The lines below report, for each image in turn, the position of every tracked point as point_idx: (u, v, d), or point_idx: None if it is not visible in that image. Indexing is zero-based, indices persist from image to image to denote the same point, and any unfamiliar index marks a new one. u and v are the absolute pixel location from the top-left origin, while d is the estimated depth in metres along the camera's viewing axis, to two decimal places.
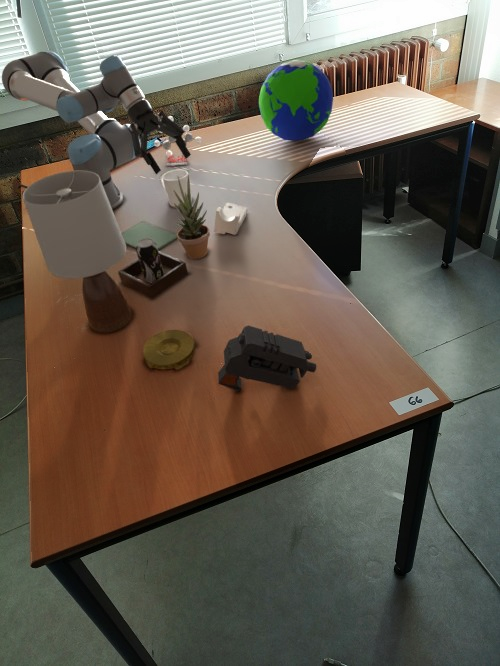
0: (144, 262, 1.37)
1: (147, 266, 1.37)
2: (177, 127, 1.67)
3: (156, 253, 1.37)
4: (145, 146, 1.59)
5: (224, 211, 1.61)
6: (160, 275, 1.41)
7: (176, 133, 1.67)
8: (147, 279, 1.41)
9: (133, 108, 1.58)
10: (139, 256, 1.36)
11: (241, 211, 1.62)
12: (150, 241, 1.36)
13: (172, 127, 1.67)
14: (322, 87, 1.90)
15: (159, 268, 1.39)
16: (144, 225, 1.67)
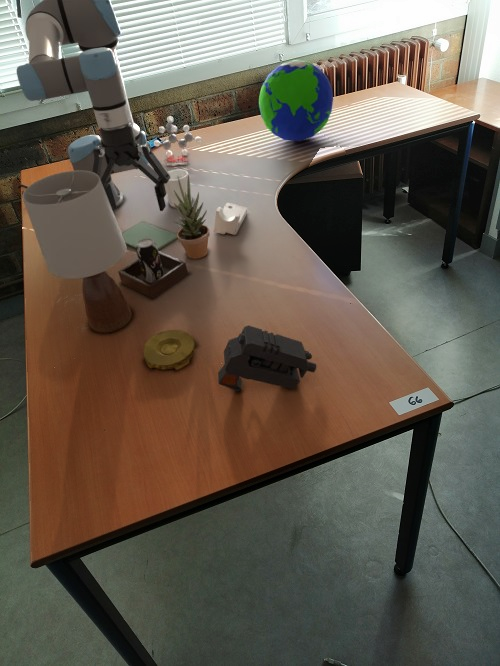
0: (144, 262, 1.37)
1: (147, 266, 1.37)
2: (159, 174, 1.21)
3: (156, 253, 1.37)
4: (103, 180, 1.25)
5: (224, 211, 1.61)
6: (160, 275, 1.41)
7: (154, 180, 1.22)
8: (147, 279, 1.41)
9: None
10: (139, 256, 1.36)
11: (241, 211, 1.62)
12: (150, 241, 1.36)
13: None
14: (322, 87, 1.90)
15: (159, 268, 1.39)
16: (144, 225, 1.67)
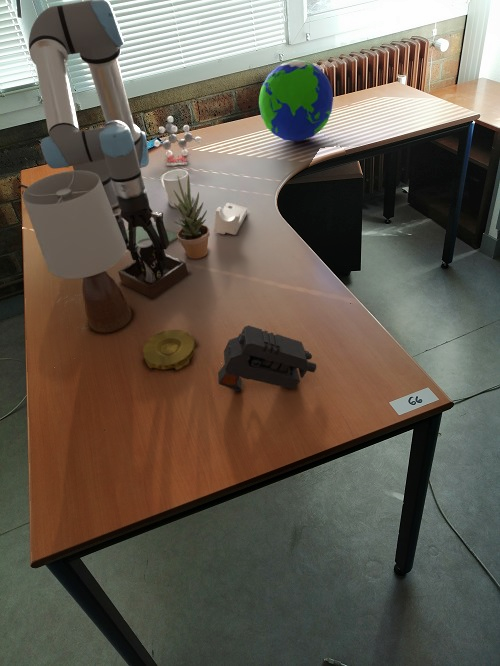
0: (144, 262, 1.37)
1: (147, 266, 1.37)
2: (162, 240, 1.33)
3: None
4: (130, 244, 1.35)
5: (224, 211, 1.61)
6: (160, 275, 1.41)
7: (156, 245, 1.34)
8: (147, 279, 1.41)
9: (117, 201, 1.26)
10: (139, 256, 1.36)
11: (241, 212, 1.62)
12: (150, 241, 1.36)
13: None
14: (322, 87, 1.90)
15: None
16: None
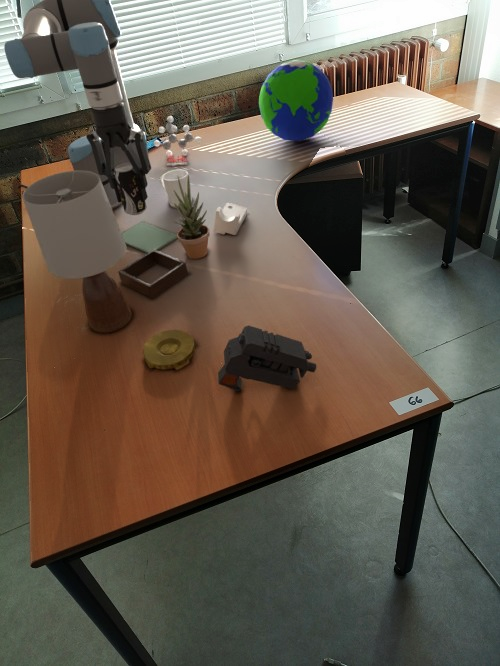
0: (123, 190, 1.23)
1: (126, 195, 1.24)
2: (143, 163, 1.19)
3: None
4: (108, 168, 1.22)
5: (224, 211, 1.61)
6: (142, 206, 1.27)
7: (136, 170, 1.21)
8: (127, 210, 1.27)
9: None
10: (118, 182, 1.22)
11: (241, 212, 1.62)
12: (130, 166, 1.22)
13: None
14: (322, 87, 1.90)
15: None
16: (144, 225, 1.67)
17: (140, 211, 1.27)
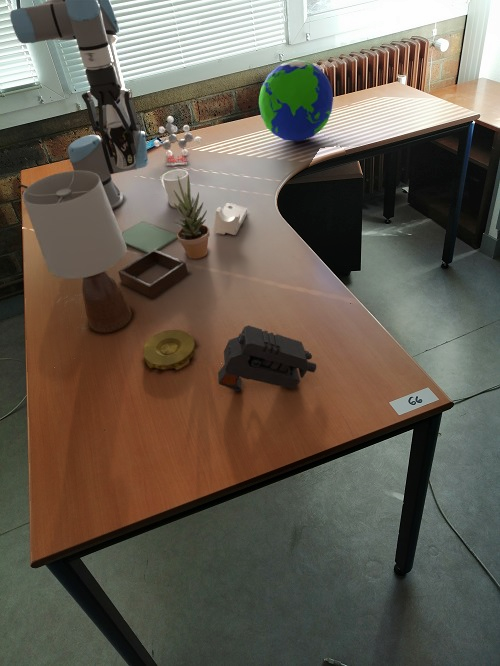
0: (114, 144, 1.39)
1: (117, 149, 1.39)
2: (131, 120, 1.35)
3: None
4: (101, 125, 1.37)
5: (224, 211, 1.61)
6: (131, 160, 1.43)
7: (126, 126, 1.36)
8: (118, 164, 1.43)
9: (86, 74, 1.28)
10: (109, 138, 1.38)
11: (241, 212, 1.62)
12: (120, 123, 1.38)
13: None
14: (322, 87, 1.90)
15: None
16: (144, 225, 1.67)
17: (130, 165, 1.43)
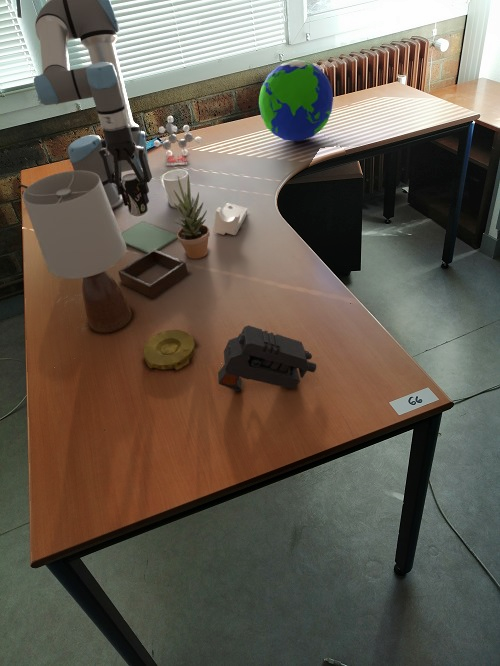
0: (128, 195, 1.49)
1: (131, 199, 1.50)
2: (145, 173, 1.45)
3: None
4: (116, 177, 1.48)
5: (224, 211, 1.61)
6: (144, 209, 1.53)
7: (139, 179, 1.47)
8: (132, 212, 1.53)
9: None
10: (124, 189, 1.48)
11: (241, 212, 1.62)
12: (134, 175, 1.48)
13: None
14: (322, 87, 1.90)
15: None
16: (144, 225, 1.67)
17: (143, 213, 1.53)
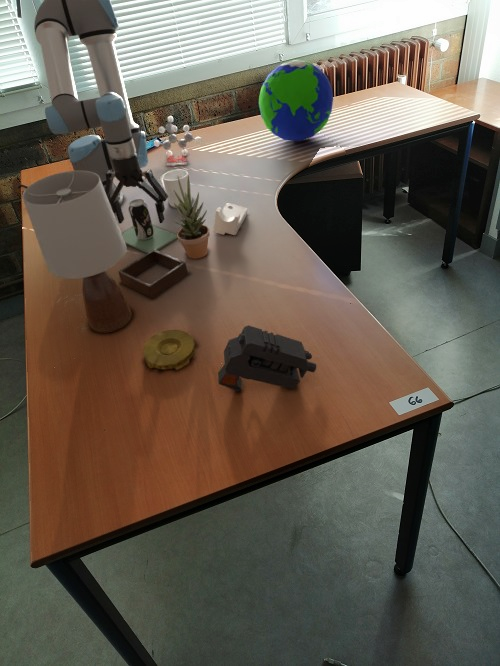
0: (135, 220, 1.54)
1: (138, 224, 1.55)
2: (159, 194, 1.49)
3: (146, 212, 1.54)
4: (113, 198, 1.52)
5: (224, 211, 1.61)
6: (150, 233, 1.58)
7: (155, 199, 1.50)
8: (139, 236, 1.58)
9: (112, 162, 1.44)
10: (131, 214, 1.54)
11: (241, 212, 1.62)
12: (141, 201, 1.54)
13: None
14: (322, 87, 1.90)
15: (149, 226, 1.57)
16: None
17: (149, 236, 1.59)
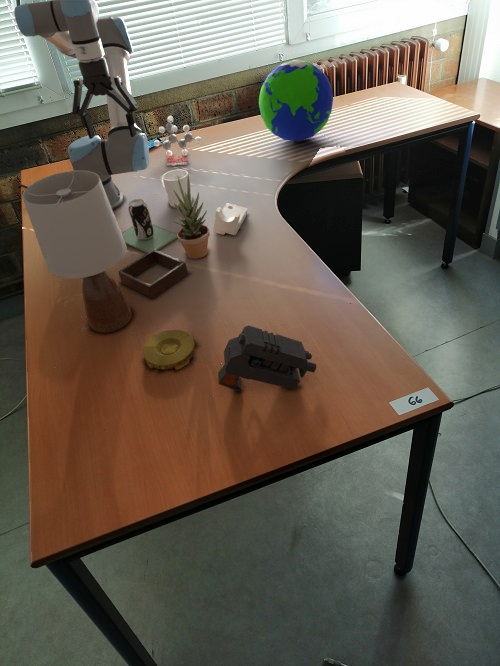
0: (135, 220, 1.54)
1: (138, 224, 1.55)
2: (129, 102, 1.44)
3: (146, 212, 1.54)
4: (82, 109, 1.47)
5: (224, 211, 1.61)
6: (150, 233, 1.58)
7: (125, 108, 1.45)
8: (139, 236, 1.58)
9: (79, 67, 1.38)
10: (131, 214, 1.54)
11: (241, 212, 1.62)
12: (141, 201, 1.54)
13: None
14: (322, 87, 1.90)
15: (149, 226, 1.57)
16: None
17: (149, 236, 1.59)
